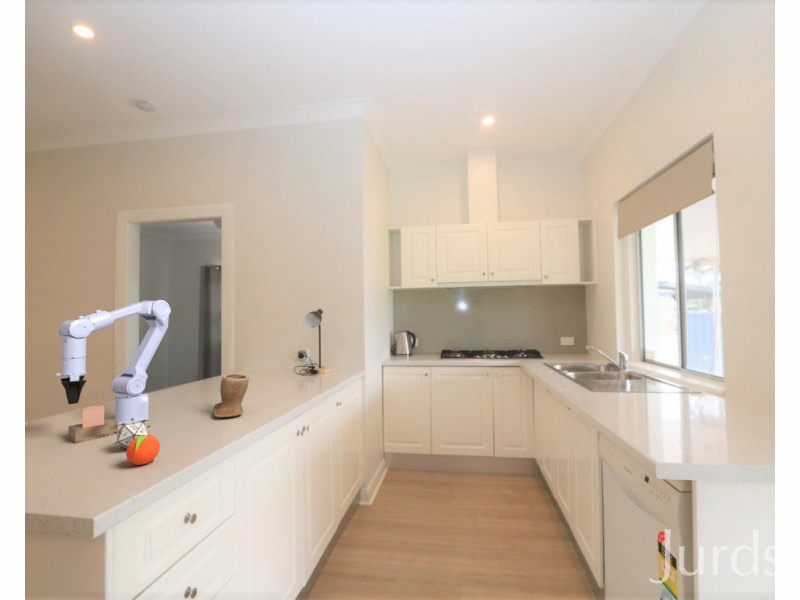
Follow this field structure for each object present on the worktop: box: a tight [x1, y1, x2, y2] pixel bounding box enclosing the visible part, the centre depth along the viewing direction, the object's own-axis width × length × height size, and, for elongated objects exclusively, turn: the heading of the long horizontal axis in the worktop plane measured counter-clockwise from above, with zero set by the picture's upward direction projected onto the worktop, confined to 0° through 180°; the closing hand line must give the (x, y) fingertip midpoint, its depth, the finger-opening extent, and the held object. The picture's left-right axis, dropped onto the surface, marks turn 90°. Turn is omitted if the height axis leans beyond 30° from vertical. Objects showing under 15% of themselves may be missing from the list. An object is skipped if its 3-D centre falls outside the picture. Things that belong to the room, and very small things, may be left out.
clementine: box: [126, 434, 161, 466], centre depth 90 cm, size 8×7×7 cm
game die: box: [113, 418, 153, 450], centre depth 100 cm, size 9×8×10 cm
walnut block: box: [68, 417, 119, 445], centre depth 111 cm, size 10×8×4 cm
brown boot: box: [213, 372, 250, 418], centre depth 135 cm, size 15×12×15 cm
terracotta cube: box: [82, 404, 105, 428], centre depth 111 cm, size 5×5×5 cm
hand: (72, 401), depth 112 cm, fingers open, 7 cm apart
